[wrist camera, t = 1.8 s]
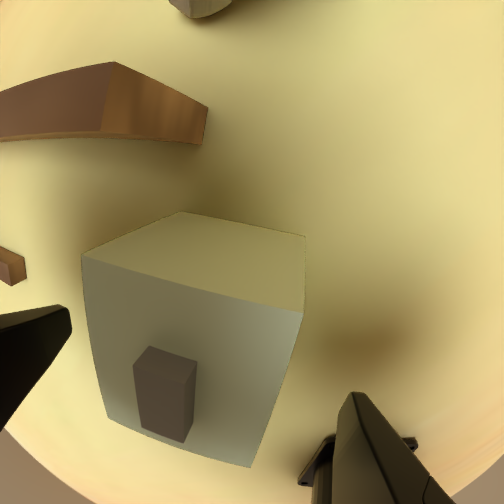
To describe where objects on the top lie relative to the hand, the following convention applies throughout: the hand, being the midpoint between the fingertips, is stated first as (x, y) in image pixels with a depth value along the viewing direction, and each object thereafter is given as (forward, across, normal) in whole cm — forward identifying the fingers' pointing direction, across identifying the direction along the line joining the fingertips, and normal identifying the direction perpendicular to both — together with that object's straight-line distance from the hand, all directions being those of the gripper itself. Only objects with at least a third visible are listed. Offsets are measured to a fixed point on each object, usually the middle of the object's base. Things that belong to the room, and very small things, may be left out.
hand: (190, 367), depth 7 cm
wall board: (+5, +13, -2) cm, 14 cm away
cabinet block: (+5, 0, 0) cm, 5 cm away
